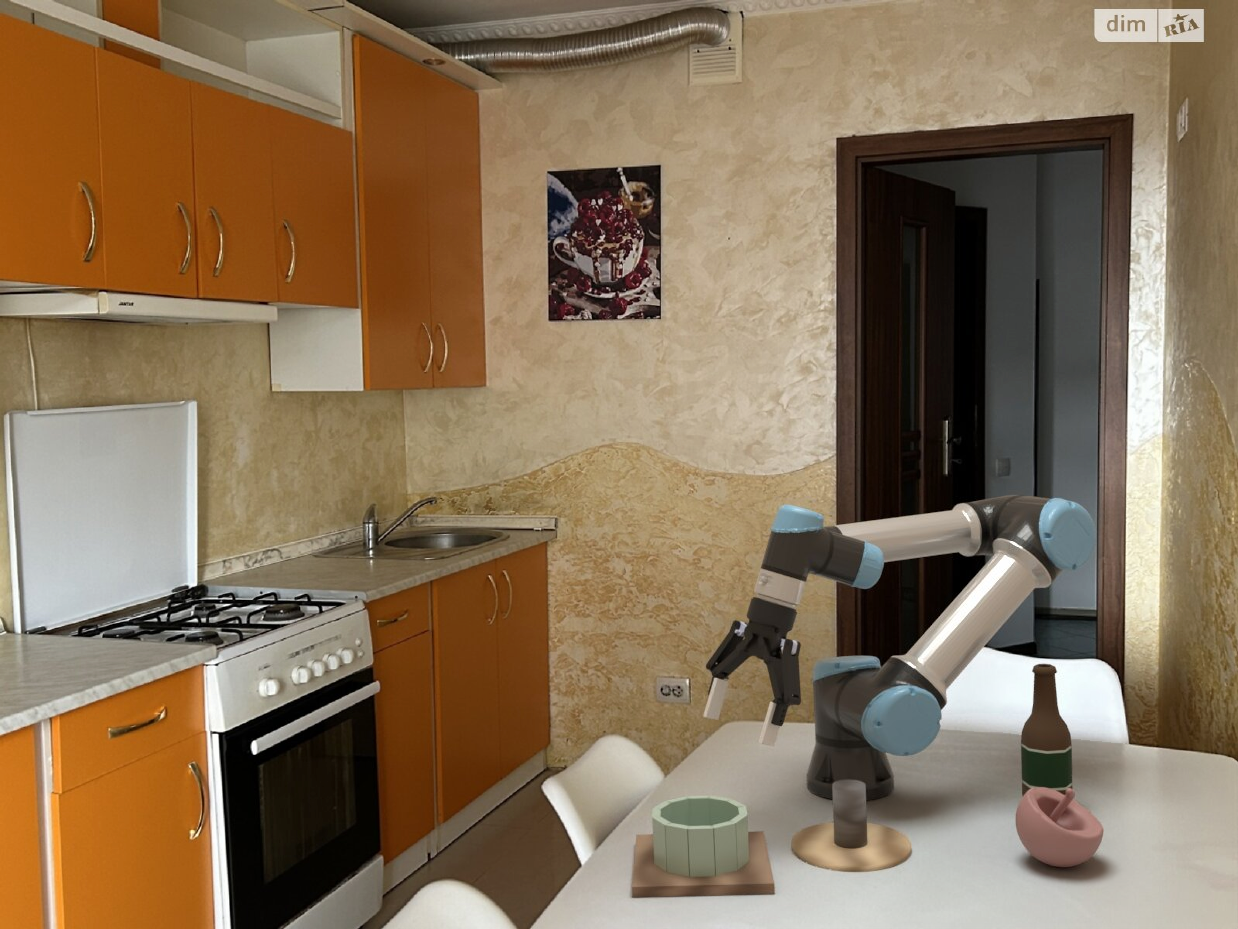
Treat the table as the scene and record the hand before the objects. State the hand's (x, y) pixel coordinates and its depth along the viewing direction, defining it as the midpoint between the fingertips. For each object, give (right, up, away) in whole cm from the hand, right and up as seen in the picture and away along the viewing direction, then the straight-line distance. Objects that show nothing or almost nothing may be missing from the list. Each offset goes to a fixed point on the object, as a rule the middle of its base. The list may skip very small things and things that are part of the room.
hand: (737, 731), depth 190 cm
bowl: (-6, -17, -11) cm, 21 cm away
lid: (+17, -17, -6) cm, 25 cm away
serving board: (-6, -18, -10) cm, 22 cm away
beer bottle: (+51, -15, +7) cm, 54 cm away
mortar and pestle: (+45, -16, -15) cm, 50 cm away
